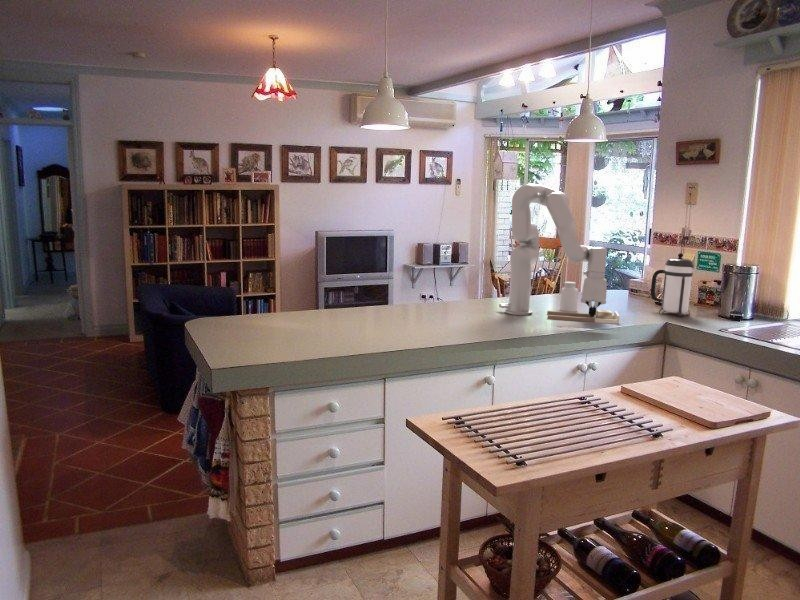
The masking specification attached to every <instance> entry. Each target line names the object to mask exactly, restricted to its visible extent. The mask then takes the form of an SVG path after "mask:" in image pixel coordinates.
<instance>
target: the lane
mask: <svg viewBox="0 0 800 600" xmlns="http://www.w3.org/2000/svg"><path fill="white" fill-rule="evenodd" d="M546 313H547V314H546V315H547V320H557V321H558V320H559V321H563V320H564V321H574V322H586V323H587V322H588V323H600V324H601V323H603V324H615V325H616V324H617V325H620V314H619V313H618V311H617V310H614V311H613V314H612V319H599V318H596V315H594V317H590V314H589V312H587V313H586V312H585V313H584V312H566V311H560V310H559V311H557V310H547V312H546Z"/></svg>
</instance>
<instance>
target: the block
mask: <svg viewBox="0 0 800 600" xmlns="http://www.w3.org/2000/svg"><path fill="white" fill-rule="evenodd" d="M612 315H613V312H612V310H609V309H608V310H607V309H596V318H599V319H612Z"/></svg>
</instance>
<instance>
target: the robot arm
mask: <svg viewBox="0 0 800 600" xmlns="http://www.w3.org/2000/svg"><path fill="white" fill-rule="evenodd" d="M535 203H536V204H538V205H541V206H544V207H546V209H547V210H548V213H549V215H550V217H551V219H552V221H553V223H554V225H555V227H556V230H557V234H558V238H559V242H560V245H561V247H562V250H563V251H564V253H565V256H566V258H567V259H568V260H569V261H570V262H572V263H574V264H579V263H584V262H585V263H586V262H587V266H586V271H583V273H582V274H583V276H586V277H584V280H583V284H582V291H581V299H580V303H583V304H586V305H587V306H588V314H590V317H594V315H596V311H597V309H598V307H600V306H601V305H605V304H607V301H606V300H607V293H608V291H607V290H608V289H607V285H608V284H607V278H605V274H606V273H605V272H606V262H607V255H608V252H607V251H608V250H607V248H605V247H603V246H589V245H584V244H580V242H579V240H578V237H577V234H576V219H575V217H574V216H573V214H572V211H571V210H570V207H569V205H570V199H569V196H568V195H567V194H566V193H564V192H562V191H559V190H556V189H553V188H551V187H548V186H546V185H542V184H538V183H527V184H523V185H521V186H519V188H517V189H516V190H515V192H514V193H513V195H512V199H511V234H512V235H511V236H512V238H513V240H514V241H515V242H517V243H518V244H519V246H516V247H515V248H513V249H512V251H511V253H510V258H509V262H510V277H509V278H510V279H509V280H510V282H509V295H508V302H506V303H501V302H500V303H499V304H498V308H500V309H504V312H505V313H506V314H508V315H515V316H530V315H531V316H532V314H533V311H532V310H530V302H531V300H530V299H531V290H532V289H531V288H532V287H531V286H532V265H533V264H535V263H536V262H537V261H538V260H539V256H540V239H539V238H540V235H539V229H538V227H537V225H536V224H534V223H533V222H532V220H531V217H532V216H531V215H532V212H531V207H530V205H531V204H535ZM592 302H594V304H593V303H592ZM592 304H593V305H592Z"/></svg>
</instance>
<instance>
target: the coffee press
mask: <svg viewBox="0 0 800 600" xmlns="http://www.w3.org/2000/svg"><path fill="white" fill-rule="evenodd" d="M683 257H684V254H683V253H682V252H679V253H678V255H677V257H672V258H668V259H667V260H666V261H665V269H658V270H656V271H655V272H654V273H653V274H652V277H651V286H650V297H651V299H653V301H655V302H656V303H661V308H660V309H659V310H658V313H659V314H660V313H662V314H664V313H672V314H677V317H678V316H679V317H678V318H682V317H683V314H685V315H688V316H690V315H691V312H690V311H689V306H690V298H691V296H690V295H691V287H692V279H693V277H694V276H693V275H694V274H693V273H694V272H696V267H695V264H694V263H693V261H692V260H691V259H688V258H683ZM660 274H664V281H663V288H662V289H663V291H662V298H658V297H657V296H656V286H657V285H656V284H657V277H658V275H660ZM661 311H662V312H661ZM687 312H688V313H687Z"/></svg>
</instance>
